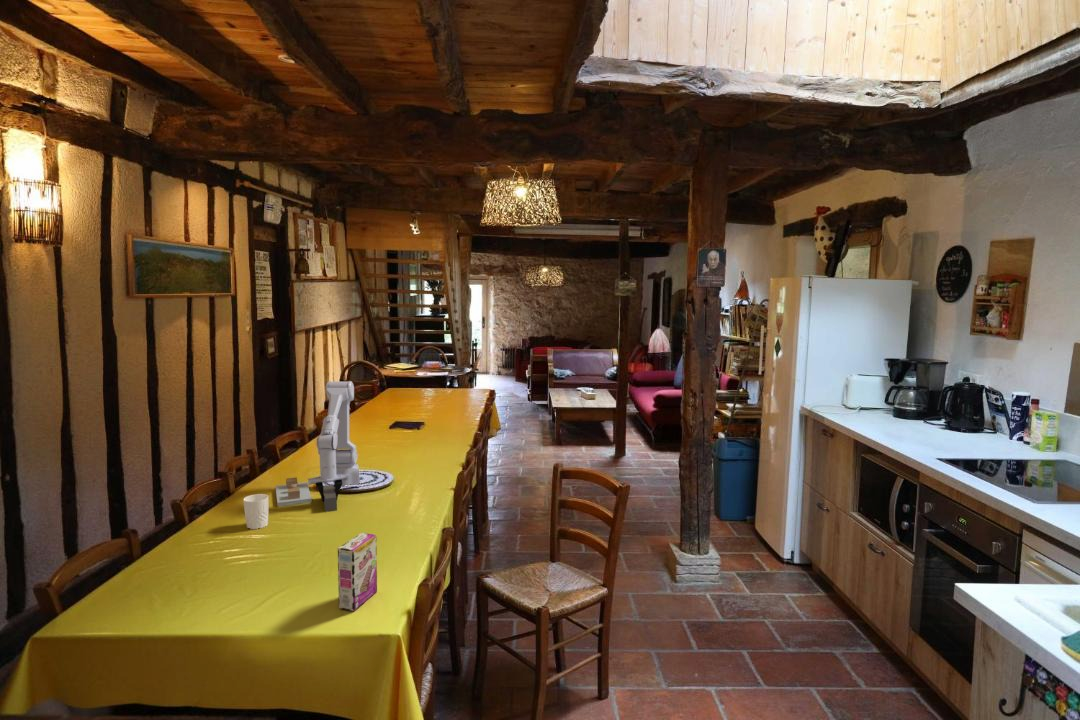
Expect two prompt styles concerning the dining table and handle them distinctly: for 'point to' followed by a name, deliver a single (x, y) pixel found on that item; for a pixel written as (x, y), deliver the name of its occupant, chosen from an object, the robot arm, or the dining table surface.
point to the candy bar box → (357, 571)
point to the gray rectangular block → (329, 498)
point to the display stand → (293, 493)
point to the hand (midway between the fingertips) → (329, 500)
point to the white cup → (256, 510)
